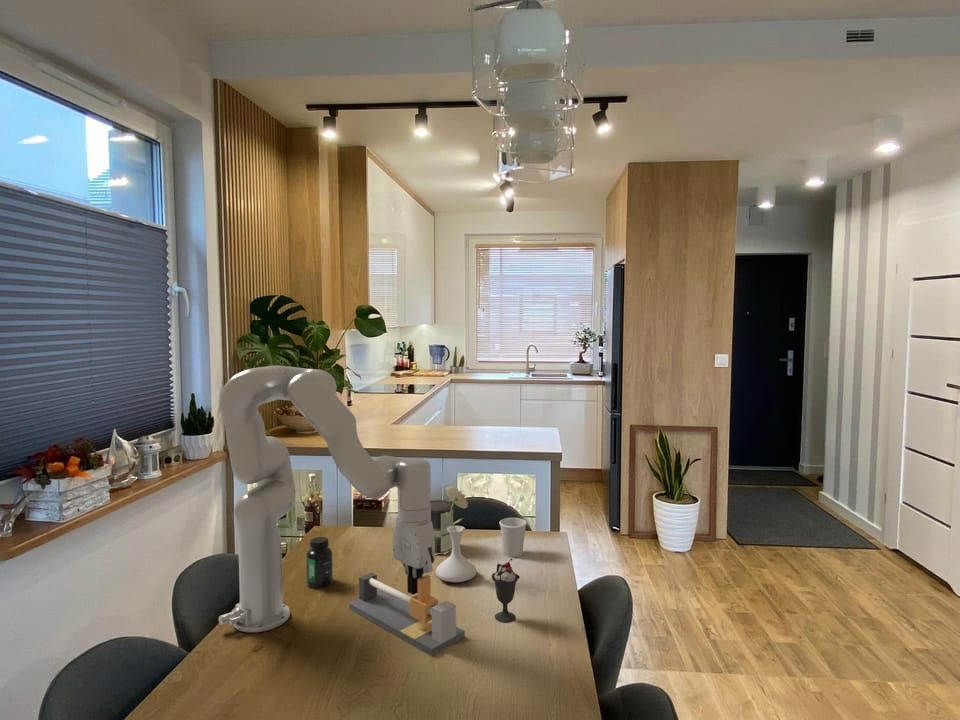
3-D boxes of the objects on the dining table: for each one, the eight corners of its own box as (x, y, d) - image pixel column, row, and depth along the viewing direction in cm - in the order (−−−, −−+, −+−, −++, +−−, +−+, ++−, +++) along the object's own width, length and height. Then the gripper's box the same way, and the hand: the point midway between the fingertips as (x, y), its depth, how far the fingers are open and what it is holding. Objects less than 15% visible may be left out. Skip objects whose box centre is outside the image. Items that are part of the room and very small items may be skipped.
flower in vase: (482, 582, 157) (482, 492, 156) (443, 589, 153) (442, 496, 151) (466, 564, 169) (466, 480, 168) (428, 570, 165) (428, 484, 164)
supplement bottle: (312, 591, 152) (311, 546, 151) (303, 581, 157) (302, 538, 157) (336, 584, 156) (336, 540, 155) (327, 575, 161) (326, 533, 161)
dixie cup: (527, 549, 180) (527, 518, 180) (525, 560, 172) (525, 527, 171) (500, 548, 181) (501, 516, 181) (497, 558, 173) (497, 526, 173)
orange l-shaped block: (410, 615, 131) (409, 577, 131) (423, 609, 134) (423, 571, 134) (425, 623, 128) (424, 583, 127) (438, 616, 131) (438, 577, 130)
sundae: (517, 625, 134) (517, 563, 134) (489, 622, 136) (489, 560, 135) (521, 612, 141) (521, 552, 140) (494, 609, 142) (494, 549, 141)
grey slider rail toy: (349, 609, 142) (348, 575, 142) (381, 595, 150) (381, 563, 149) (431, 656, 122) (431, 617, 122) (464, 637, 129) (464, 600, 129)
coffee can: (424, 557, 174) (424, 511, 173) (417, 544, 184) (417, 501, 183) (457, 553, 177) (457, 508, 176) (449, 541, 187) (448, 498, 186)
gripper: (380, 510, 134) (381, 587, 135) (424, 525, 124) (424, 608, 125) (405, 502, 140) (406, 577, 141) (449, 516, 129) (449, 596, 131)
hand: (415, 591), depth 133 cm, fingers closed
